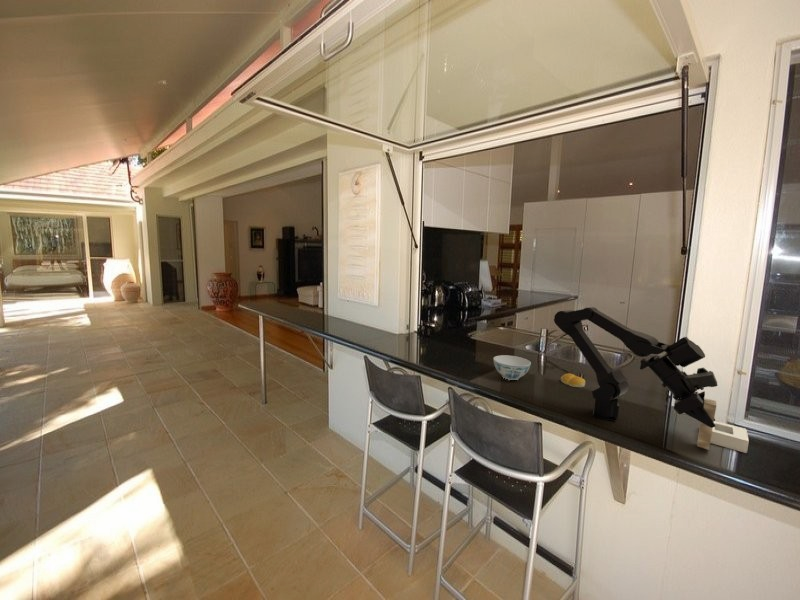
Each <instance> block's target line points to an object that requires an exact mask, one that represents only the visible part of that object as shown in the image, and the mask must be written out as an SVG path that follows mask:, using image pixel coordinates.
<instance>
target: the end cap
mask: <svg viewBox="0 0 800 600" xmlns="http://www.w3.org/2000/svg"><path fill="white" fill-rule="evenodd" d="M714 424H715V427H713V429H712V435H711V441H710V444H713V445H716V446H720V447H723V448H727V449H730V450H734V451H738V452H741V453H744V454H747V453H748V448H749V442H750V441H749V435H748V431H747V429H746V428H745V427H740V426H736V425H732V424H728V423H724V422H721V421H716V420H715V421H714Z"/></svg>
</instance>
